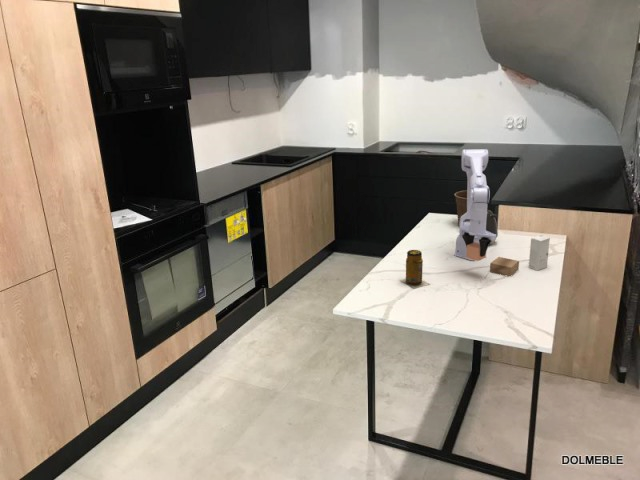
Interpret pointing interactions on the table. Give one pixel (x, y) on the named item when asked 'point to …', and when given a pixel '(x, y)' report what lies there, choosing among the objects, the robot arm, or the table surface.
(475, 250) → the terracotta cube
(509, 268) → the walnut block
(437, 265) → the table surface
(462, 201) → the plant pot
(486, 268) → the table surface
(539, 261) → the skincare box
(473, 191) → the robot arm
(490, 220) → the dark grey rounded figure
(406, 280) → the condiment
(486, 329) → the table surface
